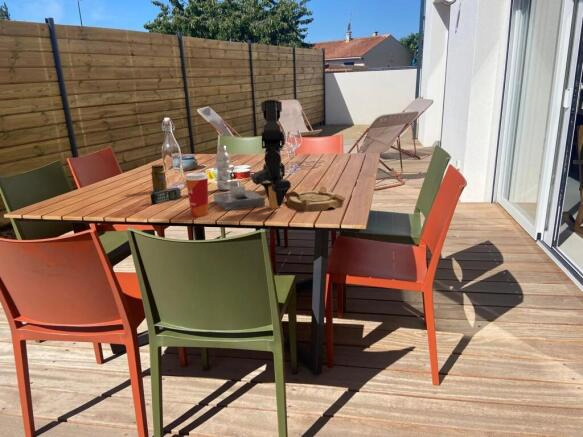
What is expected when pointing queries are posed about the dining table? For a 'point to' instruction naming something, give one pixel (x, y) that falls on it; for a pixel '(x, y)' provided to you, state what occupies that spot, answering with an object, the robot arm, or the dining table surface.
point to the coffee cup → (198, 193)
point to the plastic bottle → (223, 168)
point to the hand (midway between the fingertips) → (274, 203)
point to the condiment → (158, 178)
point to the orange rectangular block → (272, 199)
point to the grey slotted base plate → (238, 197)
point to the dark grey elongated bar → (165, 195)
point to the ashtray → (314, 200)
